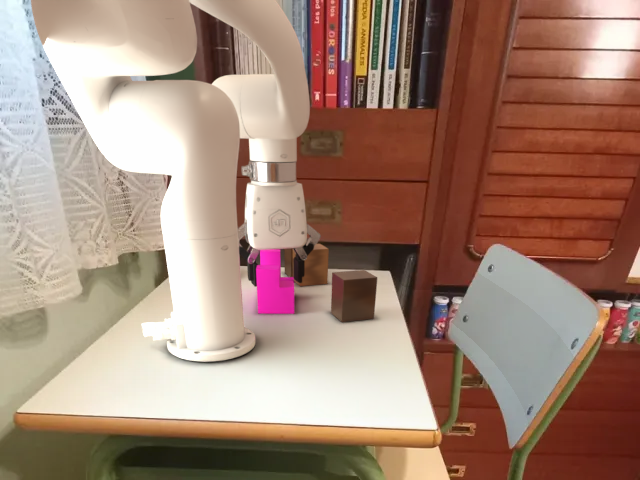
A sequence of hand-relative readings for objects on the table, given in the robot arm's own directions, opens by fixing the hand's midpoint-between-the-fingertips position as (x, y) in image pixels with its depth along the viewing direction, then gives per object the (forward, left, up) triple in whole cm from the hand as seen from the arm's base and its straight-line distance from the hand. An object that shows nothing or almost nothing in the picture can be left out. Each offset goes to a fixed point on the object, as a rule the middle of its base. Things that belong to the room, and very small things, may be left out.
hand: (276, 282), depth 88 cm
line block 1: (+10, +16, -3) cm, 19 cm away
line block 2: (+10, -12, -3) cm, 16 cm away
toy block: (0, 0, -4) cm, 4 cm away
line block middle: (+10, +10, -3) cm, 15 cm away
